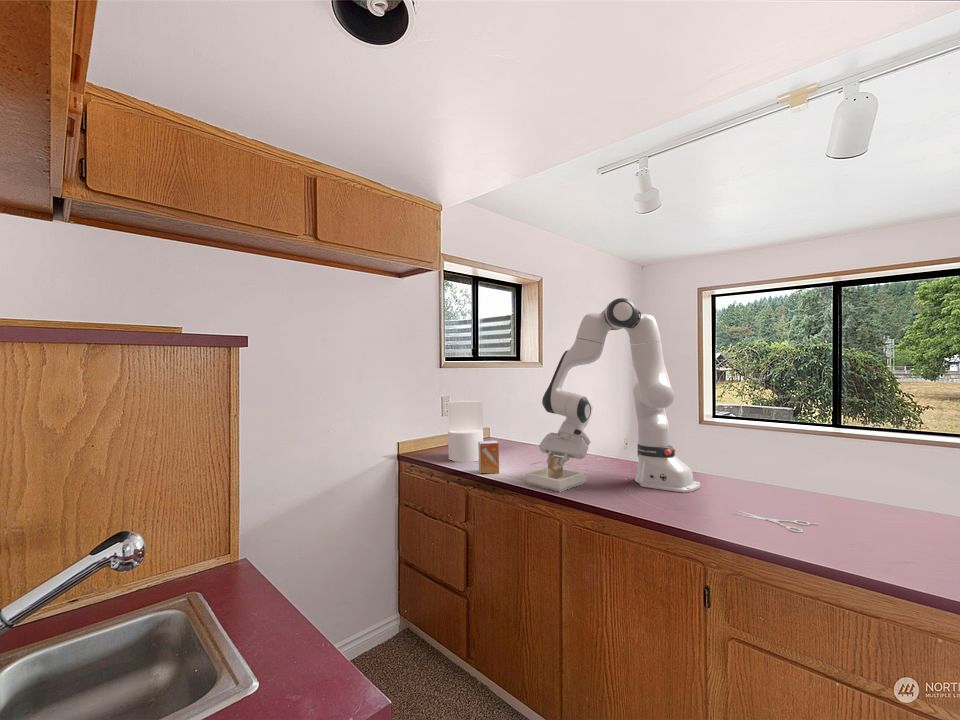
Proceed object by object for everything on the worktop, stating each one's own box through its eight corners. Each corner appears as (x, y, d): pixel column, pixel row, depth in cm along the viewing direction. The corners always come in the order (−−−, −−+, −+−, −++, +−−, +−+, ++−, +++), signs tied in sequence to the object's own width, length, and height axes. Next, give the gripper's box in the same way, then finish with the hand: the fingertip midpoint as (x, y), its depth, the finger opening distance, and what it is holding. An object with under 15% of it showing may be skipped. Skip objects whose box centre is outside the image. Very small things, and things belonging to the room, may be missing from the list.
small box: (480, 474, 185) (479, 443, 185) (478, 471, 191) (477, 441, 191) (499, 473, 186) (498, 442, 186) (497, 469, 192) (496, 440, 192)
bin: (585, 483, 168) (585, 472, 168) (559, 492, 157) (559, 481, 157) (552, 476, 179) (552, 466, 179) (526, 484, 169) (525, 473, 169)
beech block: (563, 477, 168) (562, 457, 168) (556, 479, 165) (555, 459, 165) (554, 475, 171) (554, 455, 171) (548, 477, 168) (547, 457, 168)
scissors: (808, 534, 114) (725, 514, 129) (808, 537, 114) (725, 517, 129) (818, 523, 121) (739, 506, 136) (819, 526, 121) (739, 509, 136)
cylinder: (448, 455, 224) (446, 400, 224) (481, 454, 226) (480, 399, 226) (449, 463, 207) (447, 403, 207) (485, 461, 209) (484, 402, 209)
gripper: (544, 427, 181) (529, 455, 174) (587, 432, 165) (572, 463, 159) (552, 436, 184) (537, 464, 177) (594, 442, 168) (580, 473, 162)
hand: (554, 463), depth 168 cm, fingers closed on beech block, 4 cm apart
